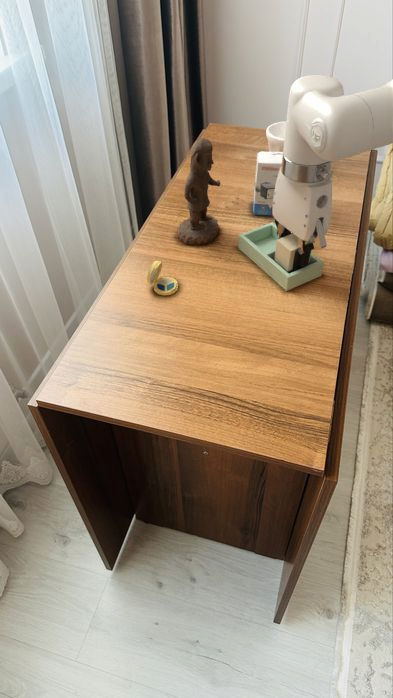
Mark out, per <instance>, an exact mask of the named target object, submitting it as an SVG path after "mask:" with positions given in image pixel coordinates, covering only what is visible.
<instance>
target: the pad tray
mask: <svg viewBox="0 0 393 698" xmlns="http://www.w3.org/2000/svg"><path fill="white" fill-rule="evenodd" d="M276 232H277V227H276V224H275V222H273V221H272V222H269V223H266V224H263V225H261V226H258V227H255V228H253V229H251V230H248V231H244V232H243V233H240V234H238V242H237V243H238V244H237V248H238V249H239V250H240V251H241V252H242V253H243V254H244V255H246V257H248V258H249V259H250V260H251V261H252V262H253V263H254V264H256V266H258V268H260V269H261V270H262V271H263V272H264V273H266V275H268V276H269V277H270V278H271V279H272V280H274V281H275V282H276V284H277V285H279V286H280V287H281V288H282V289H283V290H285V292H287V291H290V290H292V289H295V288H296V287H299V286H301V285H303V284H306V283H308V282H311V281H312V280H315V279H317V278H319V277H321V276H322V275H323V269H324V265H325V261H324V260H322V259H321V258H319V257H318V256H317V255H316V254H315V253H313V252H312V251H311V257H310V262H309V264H308V266H306V267H304V268H301V269H299V270H297V271H295V270H291V271H286V270H285V269H284V268H283V267H282V266H281V265H279V264H278V263H277V262H276V261H275V260H274V259H275V251H276V242H277V239H278V238H279V237H278V236H277V234H276Z"/></svg>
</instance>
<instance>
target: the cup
mask: <svg viewBox="0 0 393 698" xmlns="http://www.w3.org/2000/svg"><path fill="white" fill-rule="evenodd" d="M285 129H286V120H285V121H277V122H274V123H272V124H270V125H268V126H267V128H266V129H265V135H266V136H265V137H266V139H267V145H268V152H283V147H284V138H285Z"/></svg>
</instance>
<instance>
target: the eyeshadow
mask: <svg viewBox="0 0 393 698" xmlns="http://www.w3.org/2000/svg"><path fill="white" fill-rule="evenodd" d="M162 270H163V263H162V261H161V260H155V261H154V262H153V263H152V264H151V266H150V268H149V270H148V272H147V276H146V281H147V283H148V284H150V285H153V290H154V292H155V293H156V294H157V295H160V296H170V295H171V296H172V295H173V294H175V293H176V292H177V291H178V289H179V282H178V280H177V279H175V278H174V277H170V276H163V277H160V278H159V276H160V275H161V272H162Z"/></svg>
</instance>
